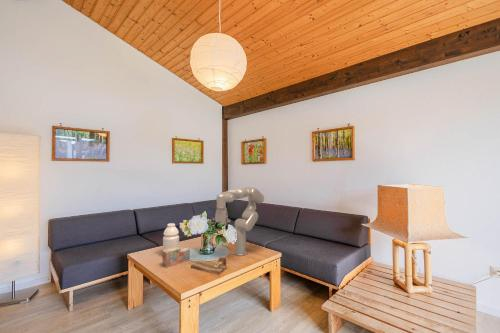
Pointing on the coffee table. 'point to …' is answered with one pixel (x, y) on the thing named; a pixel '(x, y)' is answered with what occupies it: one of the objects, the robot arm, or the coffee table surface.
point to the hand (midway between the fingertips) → (221, 229)
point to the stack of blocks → (175, 256)
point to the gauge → (221, 262)
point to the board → (208, 267)
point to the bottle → (170, 237)
